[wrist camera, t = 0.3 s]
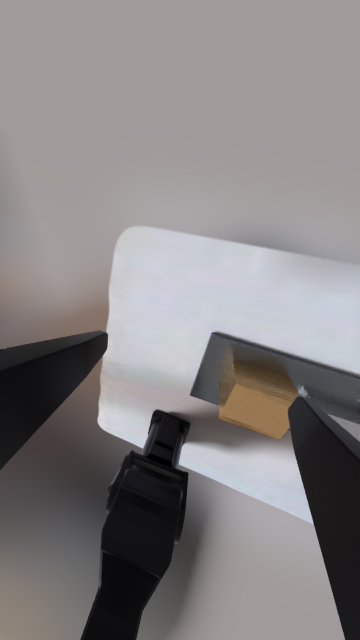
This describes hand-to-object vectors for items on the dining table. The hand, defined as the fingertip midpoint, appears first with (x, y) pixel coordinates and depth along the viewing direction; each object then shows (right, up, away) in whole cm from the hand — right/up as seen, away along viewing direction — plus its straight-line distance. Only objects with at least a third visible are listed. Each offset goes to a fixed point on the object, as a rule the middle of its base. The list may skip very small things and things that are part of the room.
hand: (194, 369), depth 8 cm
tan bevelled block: (+9, -6, +14) cm, 17 cm away
